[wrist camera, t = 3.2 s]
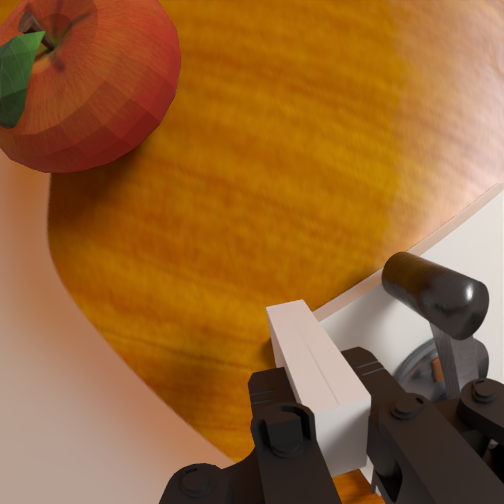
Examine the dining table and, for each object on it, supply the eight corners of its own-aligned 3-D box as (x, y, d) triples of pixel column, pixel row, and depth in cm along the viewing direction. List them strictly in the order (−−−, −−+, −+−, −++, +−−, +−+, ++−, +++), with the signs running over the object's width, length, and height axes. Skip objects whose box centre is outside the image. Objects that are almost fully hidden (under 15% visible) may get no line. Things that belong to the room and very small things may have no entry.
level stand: (521, 373, 23) (568, 408, 15) (374, 486, 23) (404, 546, 15) (496, 182, 18) (583, 190, 10) (272, 335, 18) (306, 431, 10)
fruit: (192, 15, 14) (174, -105, 5) (190, 168, 16) (147, 141, 6) (48, 42, 14) (-40, -24, 4) (37, 184, 15) (-88, 193, 6)
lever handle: (483, 404, 20) (522, 441, 14) (404, 463, 21) (435, 512, 14) (446, 215, 16) (526, 231, 10) (323, 297, 16) (376, 356, 10)
